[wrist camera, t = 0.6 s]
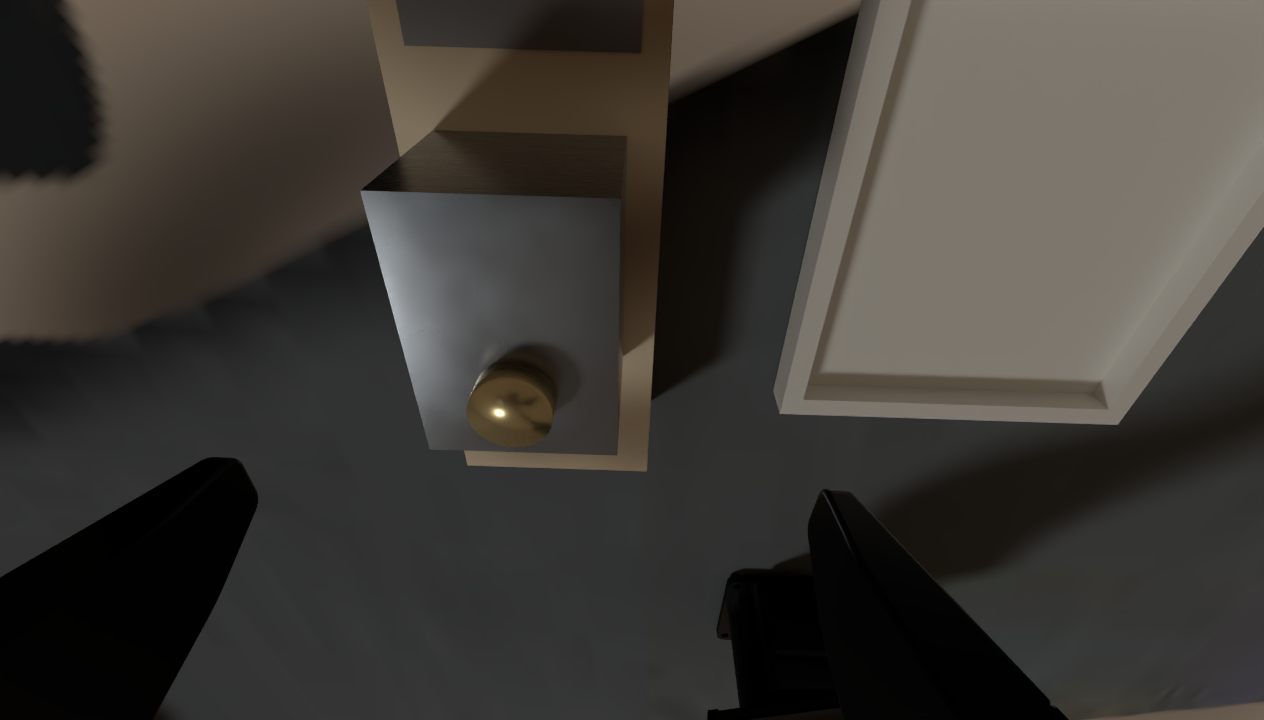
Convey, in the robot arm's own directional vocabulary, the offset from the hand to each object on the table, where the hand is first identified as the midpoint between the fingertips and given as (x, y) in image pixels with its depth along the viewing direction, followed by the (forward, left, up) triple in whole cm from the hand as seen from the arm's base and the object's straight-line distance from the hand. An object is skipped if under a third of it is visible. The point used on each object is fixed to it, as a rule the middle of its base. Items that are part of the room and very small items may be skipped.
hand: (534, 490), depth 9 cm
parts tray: (0, -15, -13) cm, 20 cm away
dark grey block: (0, +1, -9) cm, 9 cm away
